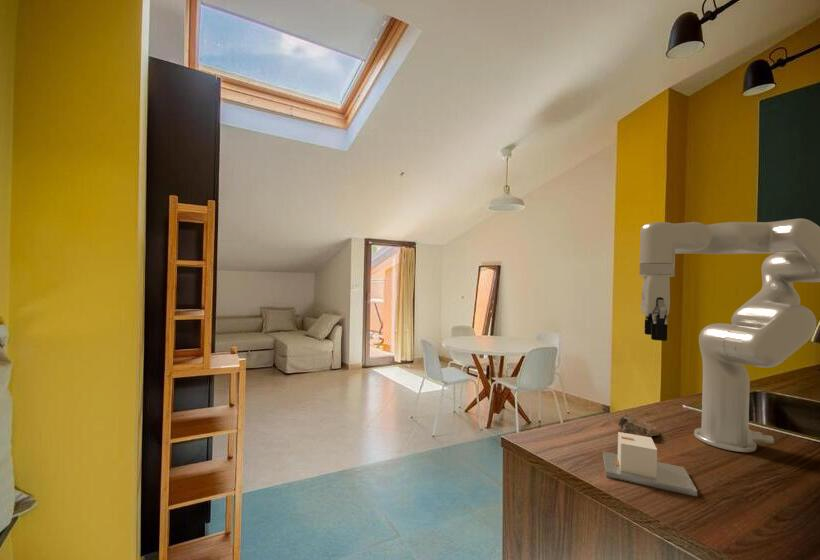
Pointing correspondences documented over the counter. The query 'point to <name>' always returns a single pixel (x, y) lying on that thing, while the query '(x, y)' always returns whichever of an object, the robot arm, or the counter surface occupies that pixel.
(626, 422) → the rock
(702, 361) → the robot arm
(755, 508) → the counter surface
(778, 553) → the counter surface
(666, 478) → the plate
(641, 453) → the orange-striped white cube
